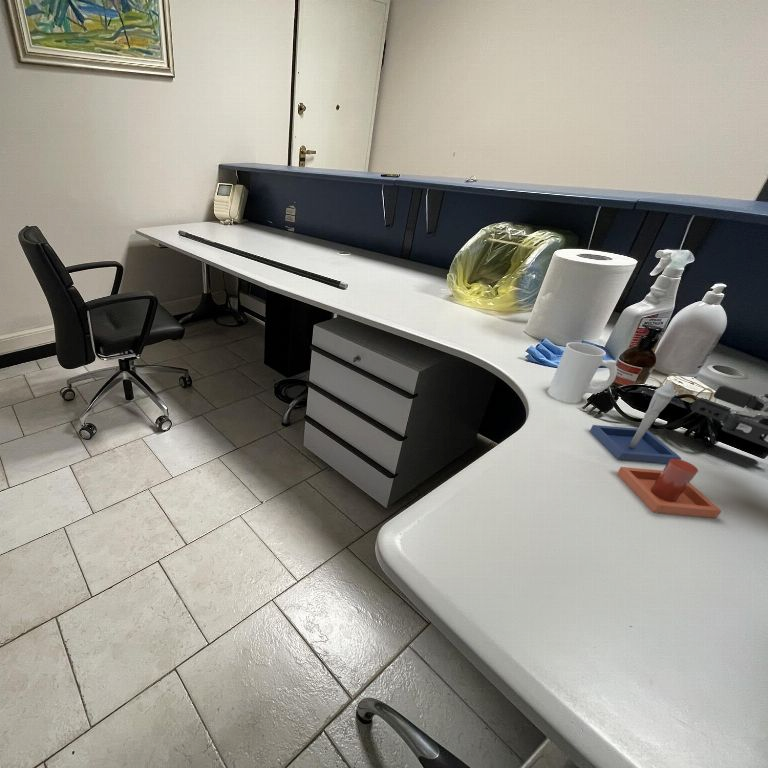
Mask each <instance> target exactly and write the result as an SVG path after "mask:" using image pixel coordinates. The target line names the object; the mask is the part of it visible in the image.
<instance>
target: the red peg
mask: <svg viewBox="0 0 768 768" xmlns="http://www.w3.org/2000/svg"><path fill="white" fill-rule="evenodd" d="M698 472H699V469H698V468H697V466H695V465H694V464H692V463H690V462H688V461H686V460H683V459H681V460H680V459H671V460H670V461H669V462H668V464H665V467H664V468H663V469H662V473H661V474H660V476H659V477H658V478H657V480H656V481H655V483H654V484H653V486H652V487H651V492H652V493H653V494H654V495H655V496H657V497H658V498H660V499H663V500H665V501H669V502H675V501H677V499H678V498H679V497H680V495H681V494H682V493H683V491H684V490H685V488H686V487H687V486H688V484H689V483H690V484H691V482H692V480H693V479H694V478H695V477H696V475H697V473H698Z"/></svg>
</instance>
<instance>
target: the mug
mask: <svg viewBox="0 0 768 768" xmlns="http://www.w3.org/2000/svg"><path fill="white" fill-rule="evenodd" d="M606 354H607V352H606V351H605V350H604V349H602V348H600V347H598V346H596V345H593V344H589V343H585V342H575V341H573V342H568V343H566V346H565V347H564V350H563V353H562V355H561V358H560V360H559V362H558V365H557V367H556V370H555V372H554V375H553V377H552V380H551V382H550V385H549V387H548V390H547V394H548V395H549V396H550V397H552V399H555V400H558V401H559V402H564V403H567V404H568V403H569V404H578V403H581V401H582V399H583V397H584V395H585V394H592V395H596V394H597V393H600V392H601V393H602V392H603V391H605V390H606V389H608V388H609V387H610V386H612V384H613V383H614V381H615V380H616V377H617V372H618V371H617V360H613V359H608V360H606V359H604V357H605V356H606ZM600 367H605V368H607V369H608V370H609V376H608V378H607V379H606V380H605V382H604V383H602V384H600V385H598V386H593V385H592V384H591V382H592V380H593V378H594V376H595V374H596V373H597V370H598V369H599V368H600ZM601 393H600V394H601Z"/></svg>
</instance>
